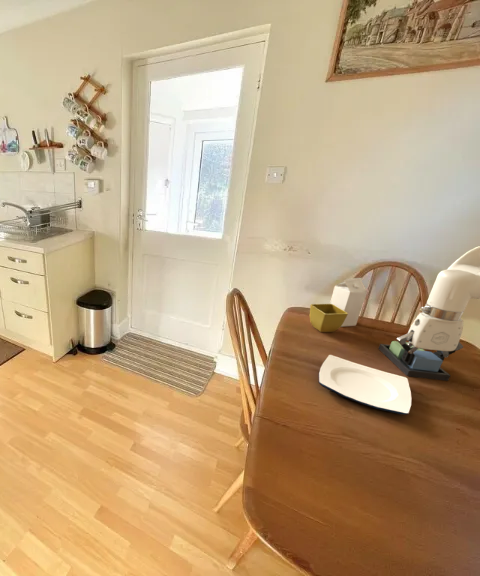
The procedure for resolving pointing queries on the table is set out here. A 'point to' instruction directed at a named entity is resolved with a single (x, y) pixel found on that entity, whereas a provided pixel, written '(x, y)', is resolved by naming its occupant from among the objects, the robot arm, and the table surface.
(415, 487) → the table surface
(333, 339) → the table surface
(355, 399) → the plate
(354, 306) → the milk carton
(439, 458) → the table surface
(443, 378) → the tray
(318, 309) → the flower pot
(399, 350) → the sage pad
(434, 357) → the blue block
